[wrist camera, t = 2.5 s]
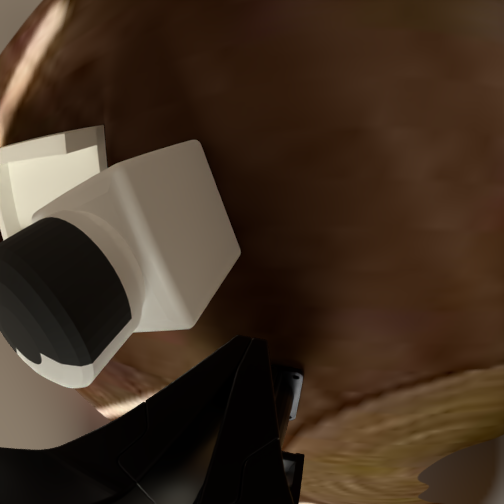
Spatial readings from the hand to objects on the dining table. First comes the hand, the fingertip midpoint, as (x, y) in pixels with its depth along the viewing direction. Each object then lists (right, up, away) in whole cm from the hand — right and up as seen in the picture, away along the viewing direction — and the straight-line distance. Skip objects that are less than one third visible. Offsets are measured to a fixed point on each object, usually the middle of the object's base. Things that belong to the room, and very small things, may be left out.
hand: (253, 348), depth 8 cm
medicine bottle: (-5, +5, +10) cm, 12 cm away
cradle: (-16, +6, +13) cm, 21 cm away
